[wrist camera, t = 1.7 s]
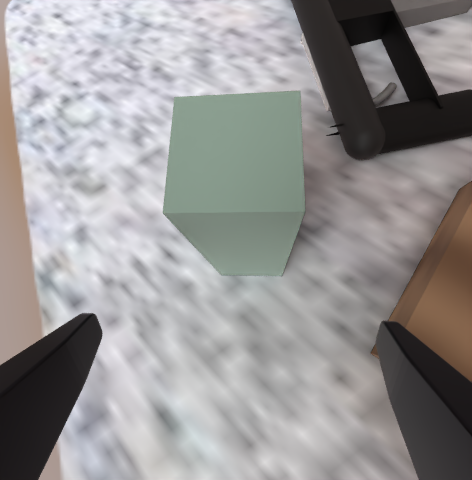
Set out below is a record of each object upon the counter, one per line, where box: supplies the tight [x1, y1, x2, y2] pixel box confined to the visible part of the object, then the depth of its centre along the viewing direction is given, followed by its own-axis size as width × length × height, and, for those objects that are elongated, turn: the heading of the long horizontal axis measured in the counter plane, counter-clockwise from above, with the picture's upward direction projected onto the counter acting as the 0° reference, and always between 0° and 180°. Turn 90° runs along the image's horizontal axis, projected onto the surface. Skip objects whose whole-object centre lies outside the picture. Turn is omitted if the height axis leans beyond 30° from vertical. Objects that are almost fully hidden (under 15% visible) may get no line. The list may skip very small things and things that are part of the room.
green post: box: [163, 91, 305, 276], centre depth 16 cm, size 4×4×13 cm
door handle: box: [291, 0, 472, 160], centre depth 25 cm, size 3×20×16 cm
